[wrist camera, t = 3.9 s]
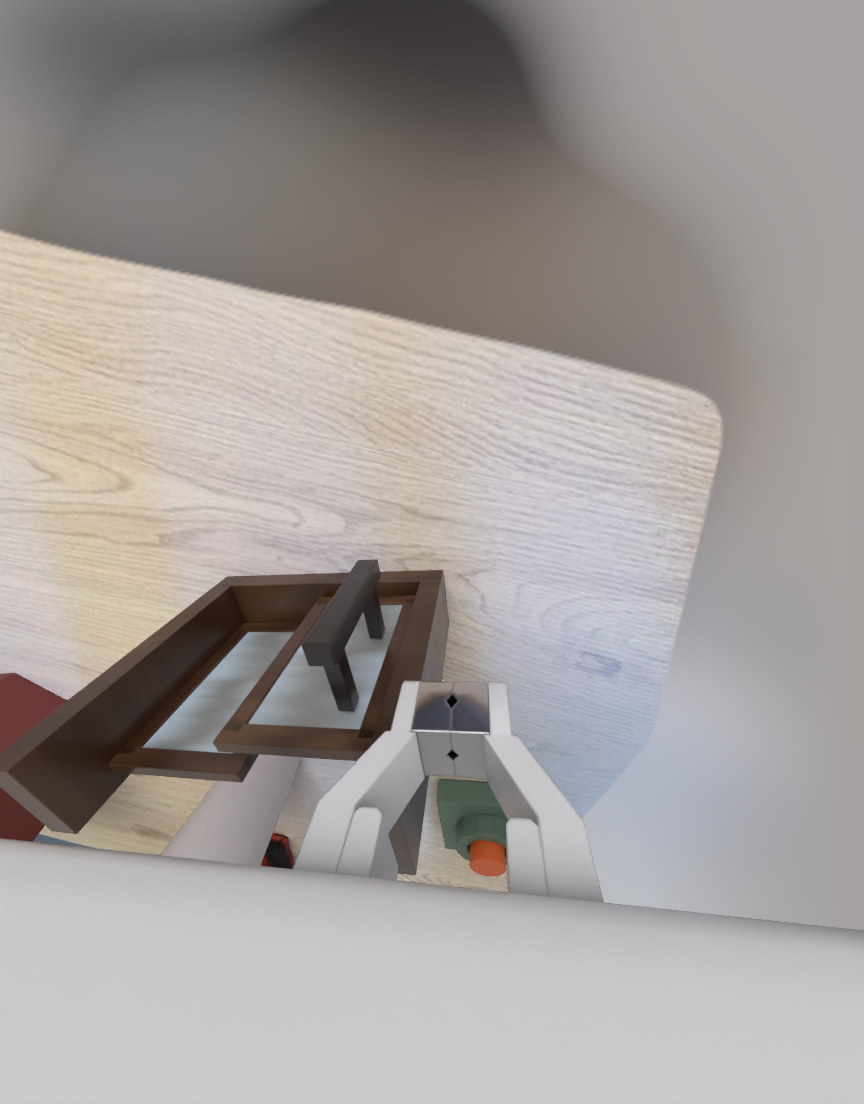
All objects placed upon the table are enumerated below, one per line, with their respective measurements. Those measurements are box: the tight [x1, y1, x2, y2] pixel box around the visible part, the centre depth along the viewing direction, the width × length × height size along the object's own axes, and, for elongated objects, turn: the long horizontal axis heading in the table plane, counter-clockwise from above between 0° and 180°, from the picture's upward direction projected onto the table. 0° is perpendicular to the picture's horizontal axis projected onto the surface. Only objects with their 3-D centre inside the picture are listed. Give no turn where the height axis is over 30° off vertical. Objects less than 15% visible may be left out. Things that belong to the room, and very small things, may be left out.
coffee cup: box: [161, 754, 301, 866], centre depth 32 cm, size 10×10×15 cm
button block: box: [437, 779, 508, 865], centre depth 37 cm, size 10×10×4 cm
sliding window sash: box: [213, 560, 416, 761], centre depth 18 cm, size 8×5×11 cm
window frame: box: [0, 570, 449, 875], centre depth 20 cm, size 18×5×16 cm, turn 96°
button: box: [469, 840, 506, 876], centre depth 34 cm, size 4×4×2 cm
